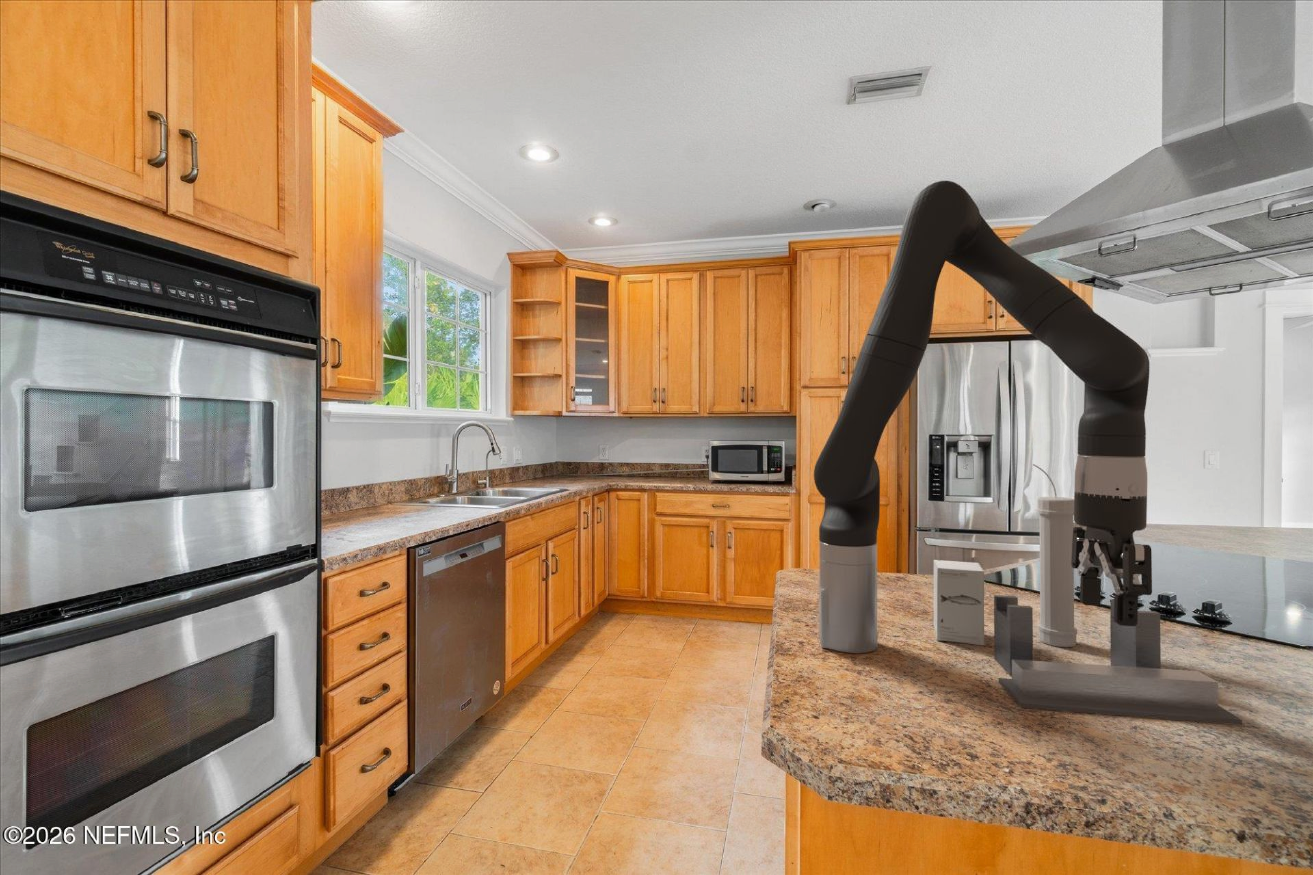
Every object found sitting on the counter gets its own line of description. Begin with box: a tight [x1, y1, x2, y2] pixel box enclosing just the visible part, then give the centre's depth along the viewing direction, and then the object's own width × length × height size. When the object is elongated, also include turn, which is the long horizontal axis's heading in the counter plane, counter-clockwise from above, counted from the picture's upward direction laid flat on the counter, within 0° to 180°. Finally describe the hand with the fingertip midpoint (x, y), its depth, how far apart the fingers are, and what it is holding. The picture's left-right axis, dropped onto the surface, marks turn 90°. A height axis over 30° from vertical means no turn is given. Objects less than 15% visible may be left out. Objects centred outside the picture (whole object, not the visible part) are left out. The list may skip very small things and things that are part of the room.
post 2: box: [1109, 599, 1162, 669], centre depth 85 cm, size 3×6×10 cm, turn 168°
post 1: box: [993, 594, 1034, 677], centre depth 88 cm, size 3×6×10 cm, turn 168°
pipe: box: [1032, 463, 1078, 648], centre depth 99 cm, size 6×6×30 cm
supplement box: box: [933, 559, 985, 647], centre depth 102 cm, size 7×7×13 cm
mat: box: [998, 677, 1243, 726], centre depth 77 cm, size 24×8×1 cm, turn 78°
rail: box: [1011, 659, 1219, 710], centre depth 77 cm, size 22×4×4 cm, turn 78°
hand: (1107, 614), depth 77 cm, fingers open, 8 cm apart
